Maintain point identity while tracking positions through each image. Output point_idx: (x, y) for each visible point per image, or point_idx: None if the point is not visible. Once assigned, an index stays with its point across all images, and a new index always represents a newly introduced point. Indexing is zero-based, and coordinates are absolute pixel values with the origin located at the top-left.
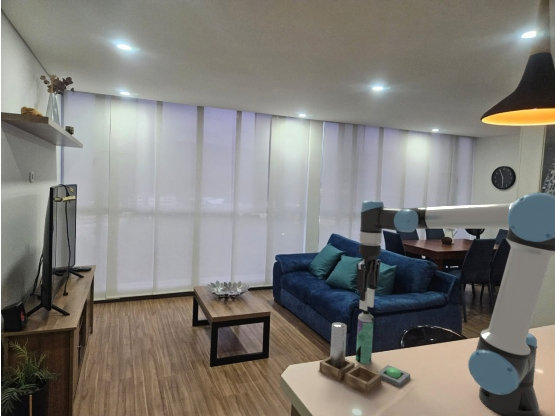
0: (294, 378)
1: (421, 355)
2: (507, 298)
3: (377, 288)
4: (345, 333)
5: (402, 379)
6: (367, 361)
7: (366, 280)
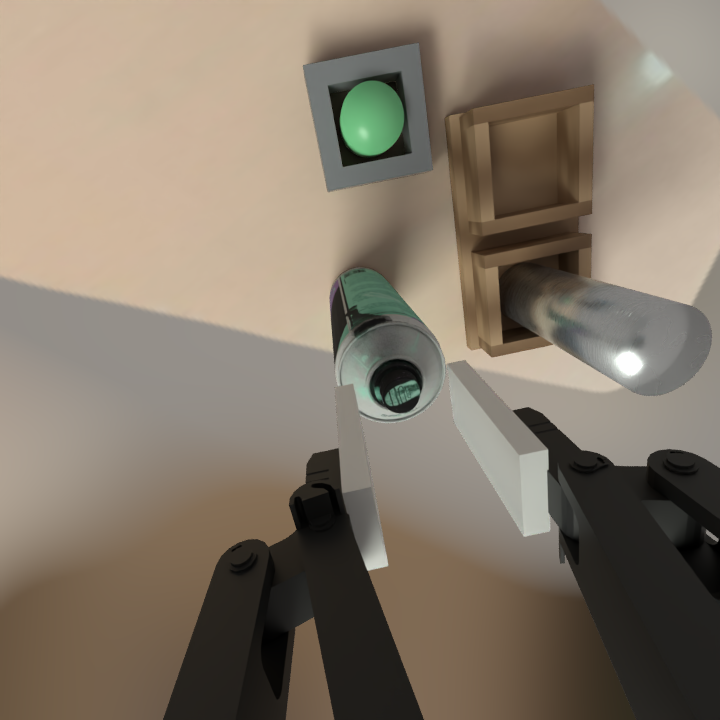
0: None
1: (42, 204)
2: None
3: (294, 492)
4: (636, 296)
5: (380, 55)
6: (373, 271)
7: (718, 605)
